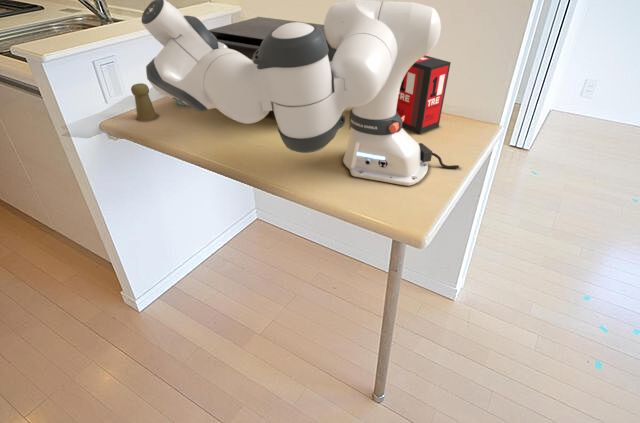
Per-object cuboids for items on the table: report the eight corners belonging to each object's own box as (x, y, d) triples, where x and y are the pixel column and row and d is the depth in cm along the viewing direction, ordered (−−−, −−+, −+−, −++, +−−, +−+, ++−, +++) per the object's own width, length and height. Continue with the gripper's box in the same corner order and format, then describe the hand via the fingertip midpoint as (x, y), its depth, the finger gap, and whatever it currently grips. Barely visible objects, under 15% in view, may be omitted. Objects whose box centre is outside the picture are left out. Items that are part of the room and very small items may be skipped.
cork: (150, 121, 130) (142, 88, 124) (133, 120, 131) (124, 86, 125) (160, 114, 135) (152, 82, 129) (144, 113, 136) (135, 80, 130)
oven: (311, 125, 129) (310, 46, 115) (216, 102, 145) (206, 30, 131) (351, 98, 148) (354, 28, 134) (263, 80, 165) (258, 16, 151)
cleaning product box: (438, 126, 128) (450, 62, 116) (420, 134, 123) (431, 67, 112) (399, 111, 138) (407, 50, 127) (381, 117, 134) (387, 55, 122)
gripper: (162, 56, 108) (195, 82, 121) (220, 67, 100) (249, 94, 113) (171, 35, 109) (203, 63, 122) (230, 45, 101) (257, 74, 113)
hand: (225, 78), depth 117 cm, fingers closed
